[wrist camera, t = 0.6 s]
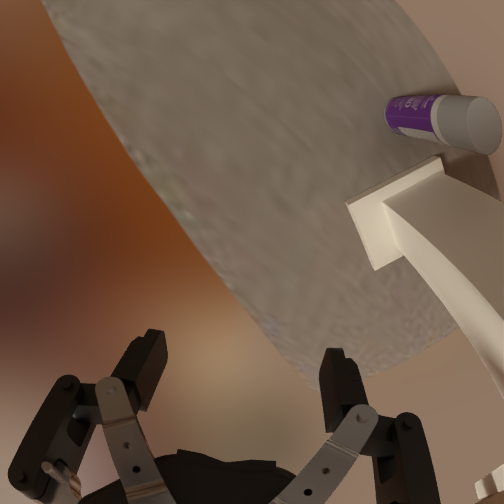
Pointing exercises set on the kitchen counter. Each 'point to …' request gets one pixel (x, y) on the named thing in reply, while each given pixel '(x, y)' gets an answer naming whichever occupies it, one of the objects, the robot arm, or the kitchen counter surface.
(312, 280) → the kitchen counter surface
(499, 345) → the stand
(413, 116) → the container
